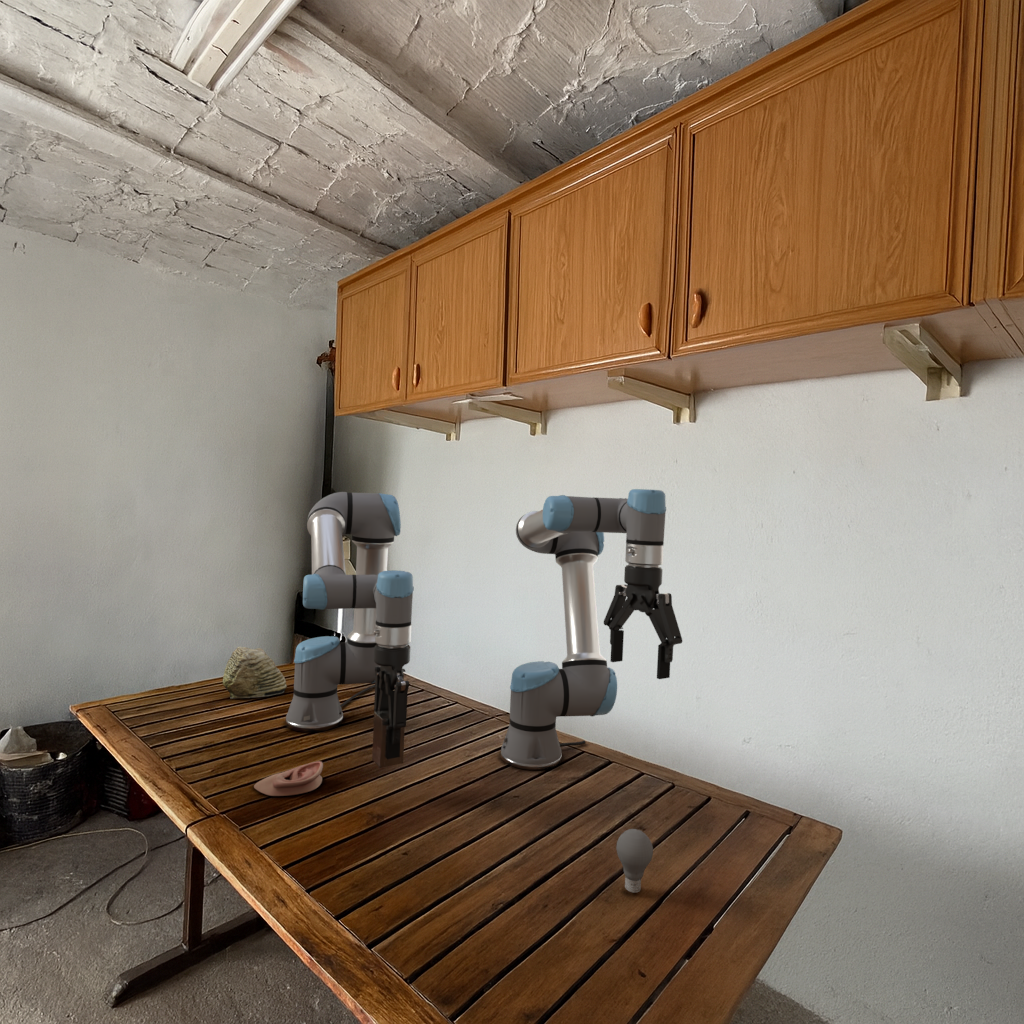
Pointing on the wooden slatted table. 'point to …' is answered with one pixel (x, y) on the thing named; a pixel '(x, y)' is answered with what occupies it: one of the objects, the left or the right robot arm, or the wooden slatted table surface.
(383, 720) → the block
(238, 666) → the fossil
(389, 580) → the left robot arm
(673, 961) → the wooden slatted table surface
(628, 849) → the light bulb
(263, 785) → the anatomical model
